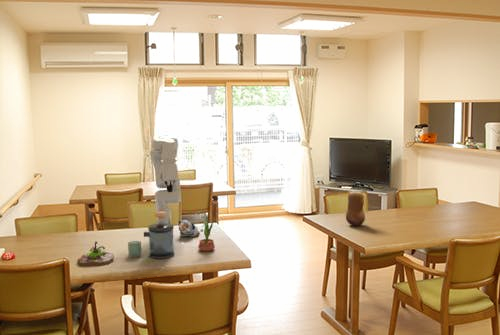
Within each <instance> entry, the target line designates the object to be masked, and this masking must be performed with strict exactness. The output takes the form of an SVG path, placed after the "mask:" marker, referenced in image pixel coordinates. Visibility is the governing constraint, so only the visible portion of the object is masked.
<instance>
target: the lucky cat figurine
mask: <svg viewBox="0 0 500 335" xmlns="http://www.w3.org/2000/svg"><path fill="white" fill-rule="evenodd" d="M178 230H179V234H180V236H181V237H182V238H183V237H195V238H196V237H199V236H198V235H201V231H199V230H198V226H197V225H196V224H195V222H193V221H192V222H190V221H189V220H188V219H182V218H181V219H178Z"/></svg>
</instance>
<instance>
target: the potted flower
mask: <svg viewBox="0 0 500 335" xmlns="http://www.w3.org/2000/svg"><path fill="white" fill-rule="evenodd" d="M200 213H201V216H200ZM194 216H195V217H197V220H198V221H201V220H202V221H203V225H202V226H201V229H200V231H199V232H200V233H202V232H203V234H204V238H205V239H204V238H203V239H200V240H199V244H198V246H197V247H198V250H199V251H201V252H211V250H212V251H213V250H215V248H216V247H215V243H214V242H215V241H214V239H210V238H209V237H210V236H211V231H212V228H213V225H214V221H215V216H213V217H212V220H211V224H210V226H209V220H208V217H207V216H208V215H207V214H206V212H205V211H204V210H203V209H202V210H200V211H199V212H196V213H195V214H194ZM203 227H204V229H203Z"/></svg>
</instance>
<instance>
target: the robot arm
mask: <svg viewBox="0 0 500 335" xmlns="http://www.w3.org/2000/svg"><path fill="white" fill-rule="evenodd" d="M178 148H179V142H178V138H177V137H176V136H173V135H172V136H159V137H157V138H154V139H152V140H151V150H150V151H149V152H150V153H149V156H150V161H151V163H152V166H153V168H154V178H155V186H156V187H157V188H158V189H159V190H157V191H155V193H154V200H155V208H156V209H155V210H156V211H155V212H159V211H164V212H166V216H164V217H163V223H168V224H172V210H171V208H170V207H169V205H173V204H179V203H181V201H182V193H181V182H180V181H181V180H180V177H179V170H178V165H177V163H176V162H178V158H177V156H178ZM156 224H159V222H158V217H156ZM174 236H175V234H174V233H173V237H174Z"/></svg>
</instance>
